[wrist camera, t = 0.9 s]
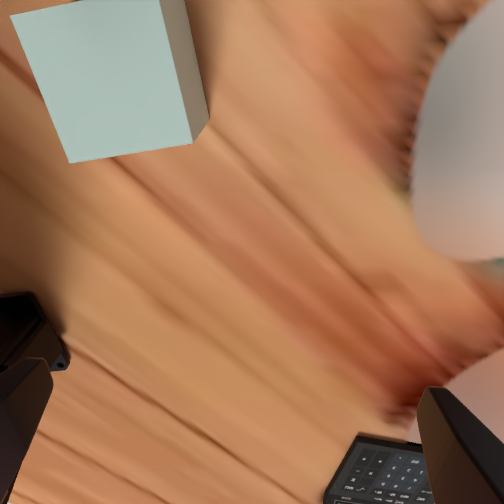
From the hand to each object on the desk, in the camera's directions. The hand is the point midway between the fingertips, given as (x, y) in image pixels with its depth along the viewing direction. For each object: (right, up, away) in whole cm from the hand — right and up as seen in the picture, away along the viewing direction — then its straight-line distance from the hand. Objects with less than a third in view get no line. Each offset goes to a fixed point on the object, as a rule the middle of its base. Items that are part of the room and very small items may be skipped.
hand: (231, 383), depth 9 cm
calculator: (+12, -17, +25) cm, 32 cm away
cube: (-4, +11, +9) cm, 15 cm away
